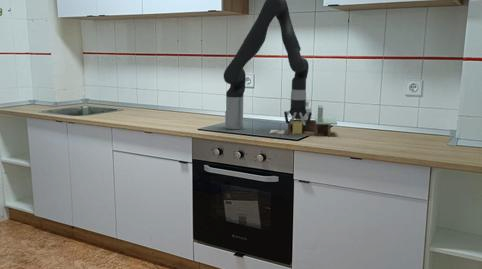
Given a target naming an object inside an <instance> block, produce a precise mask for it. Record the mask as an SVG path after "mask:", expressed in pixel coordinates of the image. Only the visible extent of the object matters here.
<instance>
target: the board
mask: <svg viewBox="0 0 482 269" xmlns="http://www.w3.org/2000/svg"><path fill="white" fill-rule="evenodd" d="M289 121H291V118H290V119H289ZM293 121H300V122H302V120H296V119H294V120H293ZM305 122H307V120H305ZM331 127H332V125H329V124H316V121H315V119H311V120H310V122H309V124H307V125H306V126H305V131H304V133H302V134H293V122H292V132H291V131H290V123H288V124H287V130H285V129H270V130H269V132H268V135H273V136H274V135H277V136H278V135H280V136H303V137H305V136H306V137H307V136H308V137H309V136H310V137H328V138H329V137H331ZM302 130H303V122H302Z"/></svg>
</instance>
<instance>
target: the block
mask: <svg viewBox="0 0 482 269" xmlns="http://www.w3.org/2000/svg"><path fill="white" fill-rule="evenodd" d="M293 134H302V122H300V121H293Z"/></svg>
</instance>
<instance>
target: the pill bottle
mask: <svg viewBox="0 0 482 269" xmlns="http://www.w3.org/2000/svg"><path fill="white" fill-rule="evenodd" d="M309 104H310V102H309V101H308V100H306V111H307V112H311V113H312V109H311V107H310V106H309ZM311 118H312V117H311ZM311 118H310V120H312V119H311ZM307 119H308V116H307V114H305V115H304V120H307ZM295 120H301V119H295Z"/></svg>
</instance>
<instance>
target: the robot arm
mask: <svg viewBox="0 0 482 269" xmlns="http://www.w3.org/2000/svg"><path fill="white" fill-rule="evenodd" d="M288 6H289V5H288V3H287V0H265V1H264V3H263V5H262V7H261V10H260V12H259V14H258V16H257V18H256V20H255V21H254V23H253V25H252V27H251V28H250V30H249V31H248V33H247V34H246V37H245V38H244V39H243V42H242V44H241V45H240V47H239V49H238V50H237V52H236V54H235V56H234V57H233V59H232V60H231V62H230V63H229V64H228V65H227V67H226V68H225V70H224V72H223V79H224V82H225V83H226V84H227V85H230V86H229V89H228V90H227V91H226V93H225V95H226V98H225V103H226V105H225V112H224V113H225V116H224V117H225V118H224V119H225V121H224V123H225V124H224V126H225V127H224V128H225V129H227V130H242V129H244V94H245V90H246V81H247V80H246V78H247V77H246V76H247V75H246V72H245V69H244V67H245V66H246V64H248V62H249V61H251V60H252V59H253V58H254V57H255V56H256V55H257V54H258V53H259V51H260V50H261V48H262V47H263V45H264V43H265V42H266V41H265V40H266V38H267V34H268V29H269V27H270V24H271V23H272V21H273V19H275V18H276V19H277V21H278V24H279V26H280V31H281V32H280V34H281V35H280V36H281V40H282V44H283V46H284V50H286V54H287V58H288V64H289V67H290V69H291V71H292V72H293V73H294V77H293V78H292V79H291V92H290V109H289V110H288V111H287V110H285V111H283V112H284V113H283V114H284V118H285V119H284V121H285V124H287V125H288V123H290V131H291V132H292V122H293V120H294V119H295V120H296V119H301V120H302V122H303V130H302V133H304V131H305V126H306V125H307V124H309V122H310V118H312V115H313V114H312V111H311V112H307V111H306V101H307V79H308V73H309V68H310V67H309V62H308V60H307V59H306V58H304V57H302V55H301V50H302V49H301V46H300V42H299V40H298V37H297V35H296V33H295V32H296V31H295V29H294V27H293V22H292V19H291V15H290V11H289V7H288ZM289 114H290V115H291V118H290V119H291V121H290V120H289V118H288V116H289ZM305 114H307V116H308V119H307V122H305V120H304V115H305Z"/></svg>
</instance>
